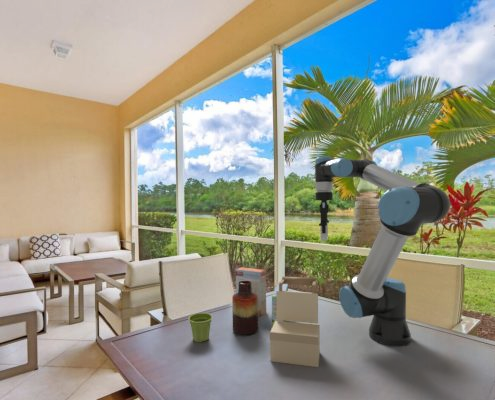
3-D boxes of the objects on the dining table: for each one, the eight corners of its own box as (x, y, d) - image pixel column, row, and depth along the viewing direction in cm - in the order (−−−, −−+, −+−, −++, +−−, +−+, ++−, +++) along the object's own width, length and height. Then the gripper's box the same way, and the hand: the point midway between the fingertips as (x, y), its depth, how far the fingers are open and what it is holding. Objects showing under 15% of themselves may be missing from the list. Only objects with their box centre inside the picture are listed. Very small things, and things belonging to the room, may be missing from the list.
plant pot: (206, 346, 120) (206, 323, 120) (184, 342, 123) (184, 320, 123) (216, 335, 129) (216, 314, 129) (196, 332, 132) (195, 311, 132)
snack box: (284, 333, 130) (284, 297, 130) (271, 332, 131) (270, 296, 131) (288, 314, 151) (288, 283, 151) (276, 314, 152) (276, 282, 152)
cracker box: (266, 312, 154) (266, 269, 153) (260, 316, 149) (260, 272, 148) (242, 307, 161) (242, 266, 161) (235, 311, 156) (235, 268, 156)
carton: (319, 352, 114) (319, 324, 114) (318, 367, 104) (318, 337, 104) (275, 347, 118) (275, 320, 118) (270, 361, 108) (269, 332, 108)
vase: (262, 333, 131) (261, 283, 130) (237, 337, 127) (237, 286, 127) (252, 323, 141) (251, 277, 141) (229, 327, 137) (228, 280, 137)
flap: (318, 323, 114) (319, 315, 123) (317, 282, 114) (319, 277, 123) (276, 319, 117) (280, 312, 127) (276, 280, 118) (280, 275, 127)
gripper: (316, 192, 156) (317, 235, 156) (313, 191, 132) (314, 242, 132) (332, 191, 154) (333, 235, 154) (332, 191, 130) (332, 243, 130)
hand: (324, 238), depth 143 cm, fingers open, 13 cm apart
